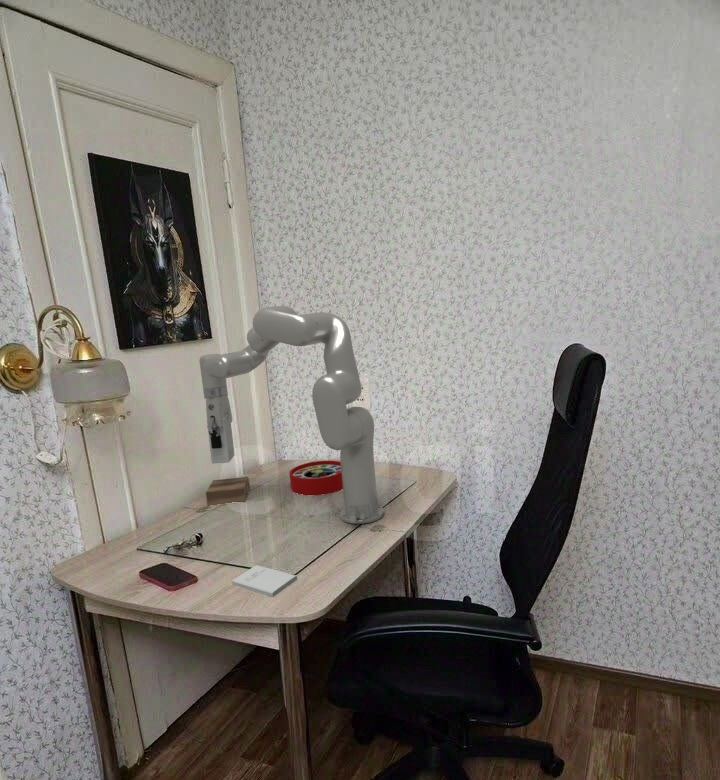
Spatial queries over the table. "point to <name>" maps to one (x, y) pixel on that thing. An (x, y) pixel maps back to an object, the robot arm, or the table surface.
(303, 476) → the toy clock
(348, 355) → the robot arm
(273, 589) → the external hard drive
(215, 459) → the skincare box
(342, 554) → the table surface
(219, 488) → the walnut block
